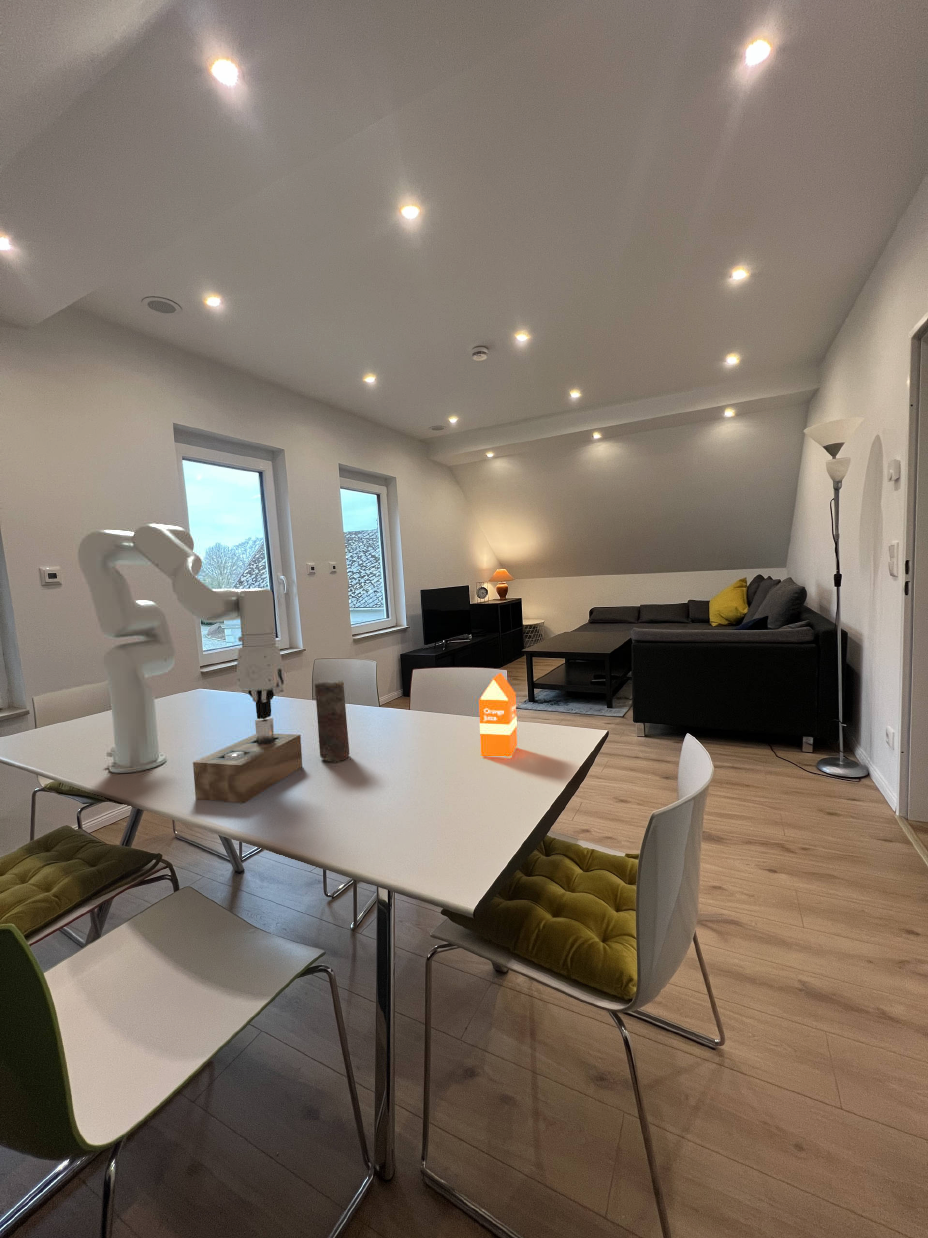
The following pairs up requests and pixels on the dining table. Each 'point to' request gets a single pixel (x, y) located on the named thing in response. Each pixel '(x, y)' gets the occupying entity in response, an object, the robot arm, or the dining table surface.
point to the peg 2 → (264, 730)
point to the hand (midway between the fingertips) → (264, 717)
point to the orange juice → (498, 719)
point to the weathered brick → (332, 721)
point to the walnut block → (246, 768)
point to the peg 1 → (234, 755)
